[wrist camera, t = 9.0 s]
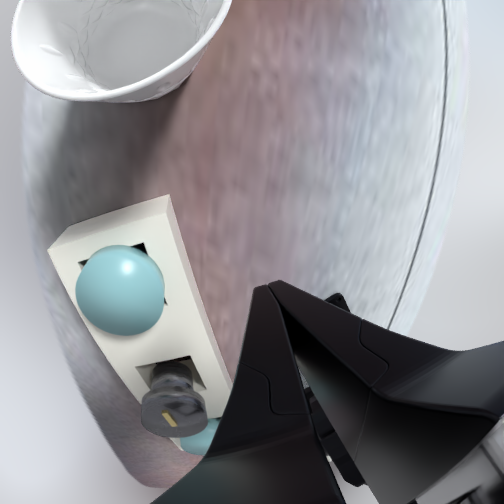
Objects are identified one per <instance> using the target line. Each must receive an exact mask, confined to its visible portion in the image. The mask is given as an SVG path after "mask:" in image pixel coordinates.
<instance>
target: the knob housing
mask: <svg viewBox="0 0 504 504" xmlns="http://www.w3.org/2000/svg"><path fill="white" fill-rule="evenodd" d="M143 242H144V245H145V247H146V250H147V253H148V256H150V257H151V258H152V259H153V260H154V261H155V263H156V264H157V265H158V267H159V268H160V270H161V272H162V275H163V278H164V283H165V292H164V307H163V312H162V315H161V317H160V319H159V320H158V321H157V323H156V324H155V325H154V326H153V327H151V328H150V329H149V330H147V331H145V332H143V333H140V334H137V335H131V336H121V335H115V334H111V333H108V332H105V331H103V330H101V329H99V328H98V327H96V326H95V325H93V324H92V323H91V322H90V321H89V320H88V319H87V318H86V317H85V316H84V314H83V313H82V311H81V310H80V308H79V306H78V303H77V300H76V295H75V288H76V282H77V279H78V277H79V275H80V273H81V271H82V269H83V267H84V266H85V264H86V262H87V261H88V259H89V258H90V257H91V255H92V254H94V253H95V252H96V251H98V250H99V249H101V248H104V247H106V246H111V245H126V246H133V245H136V244H140V243H143ZM47 251H48V253H49V255H50V257H51V260H52V262H53V264H54V266H55V268H56V270H57V272H58V274H59V277H60V279H61V281H62V283H63V285H64V287H65V288H66V290H67V292H68V294H69V296H70V298H71V300H72V302H73V304H74V305H75V307H76V309H77V311H78V313H79V314H80V316H81V318H82V320H83V321H84V323H85V325H86V326H87V328H88V330H89V331H90V333H91V335H92V336H93V338H94V339H95V341H96V343H97V344H98V346H99V347H100V349H101V350H102V352H103V353H104V355H105V356H106V358H107V359H108V361H109V362H110V364H111V365H112V367H113V368H114V369H115V371H116V372H117V374H118V375H119V377H120V378H121V379H122V381H123V382H124V383H125V385H126V386H127V387H128V389H129V390H130V391H131V393H132V394H133V395H134V396H135V398H136V399H137V400H138V402H139V403H140V404H141V403H142V398H143V396H144V395H145V394H146V393H147V392H148V391H150V390H151V382H152V370H153V368H154V367H155V366H156V362H161V361H166V360H170V359H175V358H180V357H184V356H188V355H190V356H191V358H192V359H188V360H184V361H180V362H179V363H182V364H184V365H186V366H187V367H189V368H190V370H191V372H192V378H193V387H194V391H196V392H197V393H199V394H200V395H201V396H202V397H203V398H204V400H205V405H206V411H207V418H208V419H213V418H217V417H219V419H221V417H222V414H223V412H224V409H225V407H226V404H227V401H228V399H229V396H230V393H231V390H232V387H233V384H232V381H231V379H230V376H229V374H228V371H227V368H226V366H225V363H224V361H223V358H222V355H221V353H220V350H219V347H218V345H217V342H216V339H215V336H214V334H213V331H212V328H211V325H210V322H209V320H208V317H207V314H206V311H205V308H204V305H203V302H202V299H201V296H200V293H199V290H198V287H197V284H196V281H195V278H194V275H193V272H192V269H191V266H190V263H189V260H188V256H187V253H186V250H185V247H184V243H183V240H182V237H181V234H180V230H179V227H178V223H177V220H176V216H175V213H174V209H173V206H172V202H171V199H170V195H169V194H168V195H164V196H161V197H157V198H154V199H151V200H147V201H144V202H140V203H137V204H134V205H131V206H127V207H124V208H121V209H118V210H115V211H112V212H109V213H106V214H103V215H100V216H97V217H94V218H91V219H88V220H85V221H82V222H79V223H76V224H74V225H71V226H68V227H67V229H66V230H65V231H64V232H63V233H62V234H61V235H60V236H59V237H58V239H57V240H56V241H55V242H54V243H53V244H52V245H51V247H50V248H49V249H48V250H47ZM170 439H171V440H172V441H173V442H174V443H175V444H176V445H177V446H178V447H179V449H180V450H181V451H182V450H183V449H182V448H181V443H180V438H170Z"/></svg>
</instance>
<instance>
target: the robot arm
mask: <svg viewBox="0 0 504 504" xmlns="http://www.w3.org/2000/svg"><path fill="white" fill-rule="evenodd" d="M337 298H338V299H337ZM297 365H298V366H297ZM298 367H299V369H300V370H301V372H302V374H303V376H304V377H305V379H306V381H307V383H308V384H309V387H307V388H306V389H304V387H303V383H302V380H301V376H300V373H299V369H298ZM327 456H330V458H331V459H332V461H333V462H334V464H335V465H336V467H337V468H338V470H339V471H340V473H341V475H342V477H343V479H344V480H345V481H346V482H348V483H350V484H352V485H353V486H356V487H359V486H361V485H363V484H365V485H368V486H369V488H370V489H371V491H372V493H373V494H374V496H375V497H376V499H377V501H378V502H379V504H504V341H502V342H498V343H494V344H491V345H487V346H483V347H479V348H475V349H472V350H465V351H453V350H448V349H444V348H440V347H437V346H434V345H431V344H428V343H425V342H422V341H418V340H415V339H413V338H409V337H406V336H404V335H401V334H398V333H395V332H392V331H390V330H387V329H385V328H383V327H380V326H378V325H376V324H373V323H371V322H369V321H367V320H365V319H362V318H360V317H358V316H356V315H354V314H352V313H351V312H350V310H349V308H348V306H347V303H346V301H345V299H344V297H343V296H342V294H341V293H336V294H334V295H332V296H331V297H329V298H328V299H326V300H325V301H324V300H322V299H320V298H318V297H315V296H313V295H311V294H309V293H307V292H305V291H303V290H301V289H299V288H297V287H294V286H292V285H290V284H288V283H286V282H284V281H282V280H277V281H274V282H271V283H269V284H268V285H262V286H258V287H255V288H254V290H253V295H252V299H251V304H250V309H249V314H248V319H247V324H246V328H245V333H244V338H243V343H242V347H241V352H240V357H239V364H238V366H237V370H236V375H235V379H234V383H233V387H232V390H231V393H230V396H229V399H228V401H227V404H226V407H225V409H224V412H223V414H222V417H221V419H220V422H219V424H218V427H217V429H216V432H215V434H214V437H213V439H212V441H211V444H210V446H209V448H208V450H207V452H206V454H205V455H204V457H203V458H202V460H201V461H200V462H199V463H198V465H196V466H195V467H194V468H193V469H192V470H191V471H190V472H189V473H187V474H186V475H185V476H184V477H183V478H182V479H180V480H179V481H178V482H177V483H176V484H174V485H173V486H172V487H171V488H169V489H168V490H167V491H166V492H164V493H163V494H162V495H161V496H159V497H158V498H157V499H156V500H154V501H153V502H152V503H150V504H346V502H345V500H344V497H343V495H342V493H341V490H340V488H339V486H338V484H337V481H336V479H335V476H334V474H333V471H332V469H331V467H330V464H329V462H328V459H327Z"/></svg>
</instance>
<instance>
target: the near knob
mask: <svg viewBox="0 0 504 504" xmlns="http://www.w3.org/2000/svg"><path fill="white" fill-rule="evenodd" d="M164 292H165V283H164V278H163V275H162V272H161V270H160V268H159V267H158V265H157V264H156V263H155V261H154V260H153V259H152V258H151V257H150V256H148V253H147V250H146V248H145V247H144V246H143V245H142V244H136V245H133V246H126V245H111V246H106V247H104V248H101V249H99V250H98V251H96V252H95V253H94V254H92V255H91V257H90V258H89V259H88V261H87V262H86V264H85V266H84V267H83V269H82V271H81V273H80V275H79V277H78V279H77V282H76V288H75V295H76V300H77V303H78V306H79V308H80V310H81V311H82V313H83V314H84V316H85V317H86V318H87V319H88V320H89V321H90V322H91V323H92V324H93V325H95V326H96V327H98V328H99V329H101V330H103V331H105V332H108V333H111V334H115V335H121V336H131V335H137V334H140V333H143V332H145V331H147V330H149V329H150V328H151V327H153V326H154V325H155V324H156V323H157V321H158V320H159V319H160V317H161V315H162V312H163V307H164Z"/></svg>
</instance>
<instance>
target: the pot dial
mask: <svg viewBox="0 0 504 504" xmlns="http://www.w3.org/2000/svg"><path fill="white" fill-rule="evenodd" d="M141 422H142V425H143V426H144V427H145V428H146V429H147V430H148V431H150V432H152V433H154V434H156V435H159V436H163V437H169V438H183V437H189V436H193V435H196V434H198V433H200V432H202V431H203V430H204V429H205V428H206V427H207V425H208V418H207V411H206V405H205V400H204V398H203V397H202V396H201V395H200V394H199V393H197V392H196V391H194V387H193V378H192V372H191V370H190V368H189V367H187V366H186V365H184V364H182V363H179V362H174V361H167V362H162V363H160V364H158V365H156V366H155V367H154V368H153V370H152V382H151V390H150V391H148V392H147V393H146V394H145V395H144V396H143V398H142V403H141Z"/></svg>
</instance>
